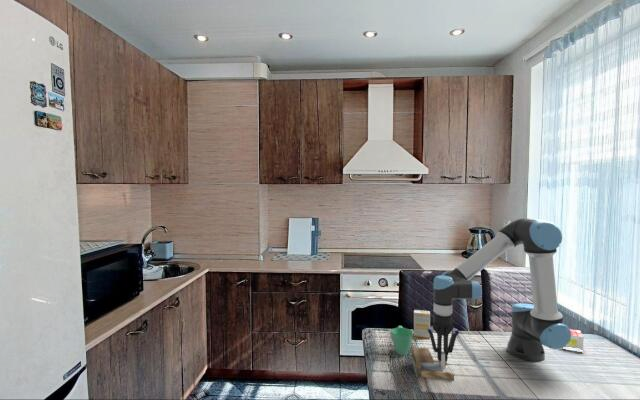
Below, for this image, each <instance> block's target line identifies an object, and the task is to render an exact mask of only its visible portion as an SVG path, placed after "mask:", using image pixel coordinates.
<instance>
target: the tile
mask: <svg viewBox="0 0 640 400" xmlns="http://www.w3.org/2000/svg"><path fill="white" fill-rule="evenodd" d="M421 370H427V371H444V370H442V368H441V366H440V363H439V362H434V364H433V363H421Z"/></svg>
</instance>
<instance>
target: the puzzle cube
mask: <svg viewBox="0 0 640 400" xmlns="http://www.w3.org/2000/svg"><path fill="white" fill-rule="evenodd" d="M569 329H570V331H571V339H570V341H569V343H568V344H567V345H566V346H565V347H572V348H579V349H581V350H583V351H584V340H585V337H584V335H583V333H582V331H581V330H579V329H572V328H569Z"/></svg>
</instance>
